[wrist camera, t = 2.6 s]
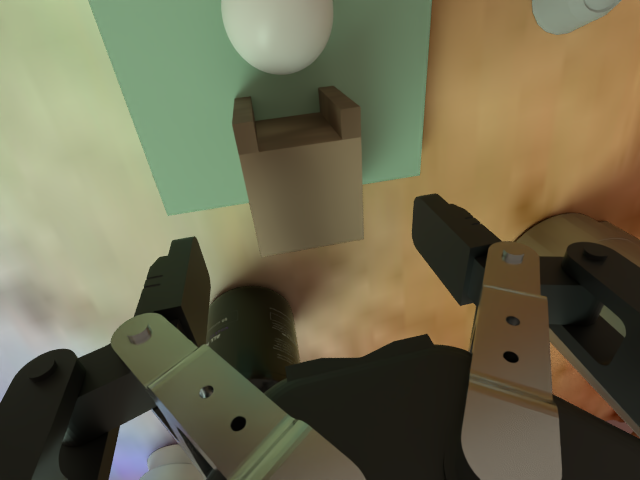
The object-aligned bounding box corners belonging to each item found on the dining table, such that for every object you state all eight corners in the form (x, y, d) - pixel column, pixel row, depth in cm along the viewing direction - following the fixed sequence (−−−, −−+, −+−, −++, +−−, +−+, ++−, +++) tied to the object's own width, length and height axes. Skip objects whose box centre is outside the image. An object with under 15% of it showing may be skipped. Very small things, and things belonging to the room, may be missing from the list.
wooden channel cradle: (333, 85, 18) (360, 106, 14) (340, 195, 21) (363, 239, 17) (234, 98, 18) (231, 124, 13) (257, 209, 21) (261, 257, 17)
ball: (317, -53, 15) (341, -75, 11) (325, 62, 17) (347, 74, 14) (212, -44, 15) (202, -64, 11) (235, 73, 17) (233, 89, 13)
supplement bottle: (197, 287, 26) (168, 457, 16) (290, 277, 27) (317, 430, 17) (212, 351, 30) (196, 521, 20) (293, 340, 31) (317, 496, 21)
